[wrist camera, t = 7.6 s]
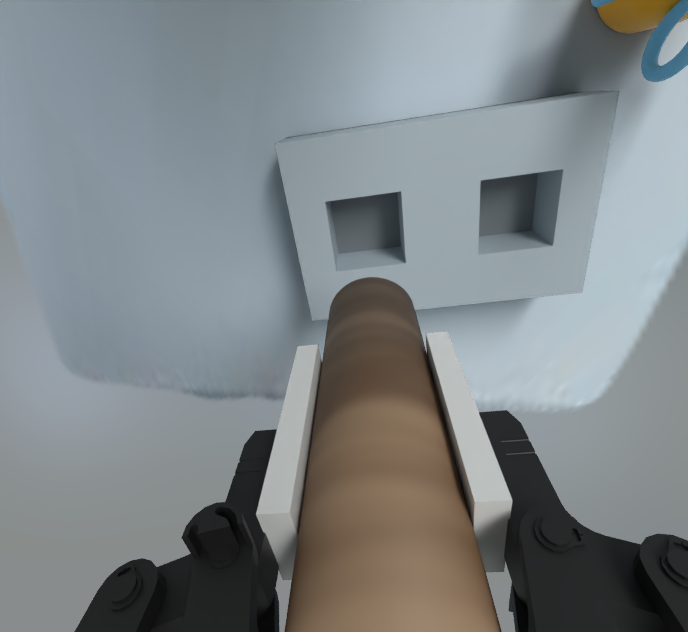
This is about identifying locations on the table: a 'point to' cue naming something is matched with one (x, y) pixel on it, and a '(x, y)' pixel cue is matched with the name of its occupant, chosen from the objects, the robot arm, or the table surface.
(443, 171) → the hole block
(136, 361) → the table surface
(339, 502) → the pin
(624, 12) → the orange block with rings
